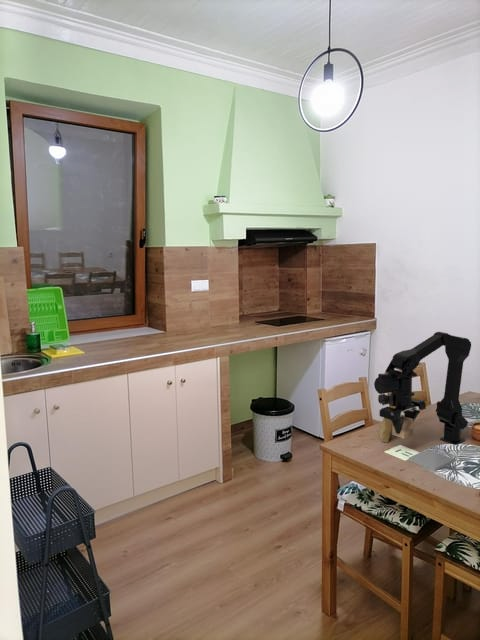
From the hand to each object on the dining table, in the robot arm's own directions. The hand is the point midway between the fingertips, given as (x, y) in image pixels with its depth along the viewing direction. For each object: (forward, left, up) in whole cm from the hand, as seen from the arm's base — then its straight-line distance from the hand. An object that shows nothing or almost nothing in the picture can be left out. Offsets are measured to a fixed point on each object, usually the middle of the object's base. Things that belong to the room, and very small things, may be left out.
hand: (402, 431), depth 163 cm
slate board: (-2, +10, -8) cm, 13 cm away
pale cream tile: (0, 0, -8) cm, 8 cm away
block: (0, 0, -1) cm, 1 cm away
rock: (-6, -13, -8) cm, 17 cm away
